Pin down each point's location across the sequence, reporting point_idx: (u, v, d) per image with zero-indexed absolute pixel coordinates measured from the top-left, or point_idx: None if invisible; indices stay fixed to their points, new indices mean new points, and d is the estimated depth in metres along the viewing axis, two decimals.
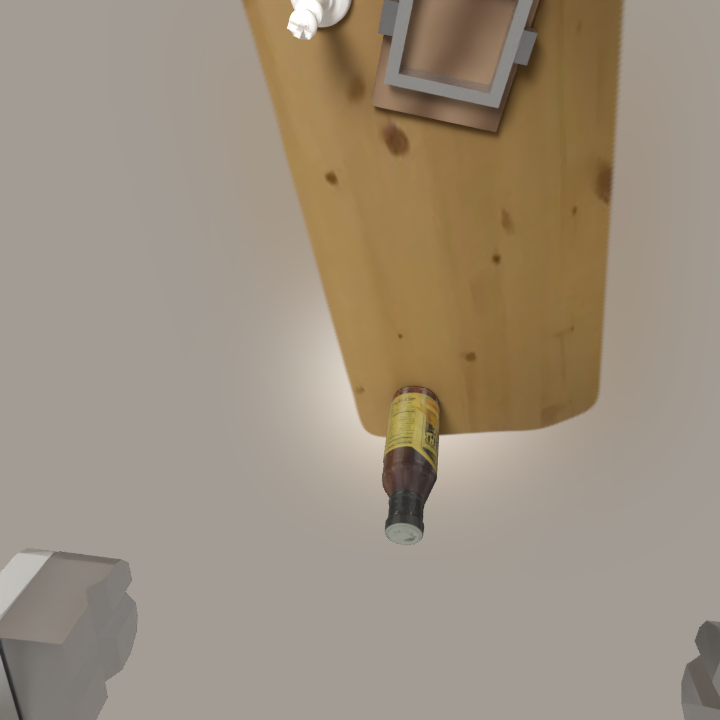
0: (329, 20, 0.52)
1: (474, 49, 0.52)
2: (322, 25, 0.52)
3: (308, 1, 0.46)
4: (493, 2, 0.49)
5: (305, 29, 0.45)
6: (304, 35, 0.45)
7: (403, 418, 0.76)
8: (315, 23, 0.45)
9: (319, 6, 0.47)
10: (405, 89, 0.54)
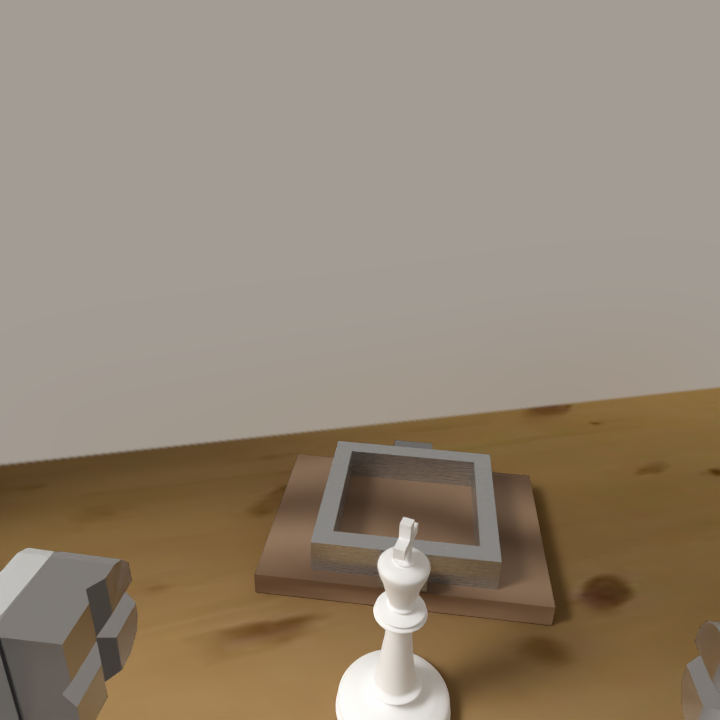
0: (432, 674, 0.28)
1: (431, 502, 0.39)
2: (444, 688, 0.28)
3: (377, 605, 0.26)
4: (373, 492, 0.40)
5: None
6: None
7: None
8: None
9: (384, 593, 0.26)
10: (509, 565, 0.34)
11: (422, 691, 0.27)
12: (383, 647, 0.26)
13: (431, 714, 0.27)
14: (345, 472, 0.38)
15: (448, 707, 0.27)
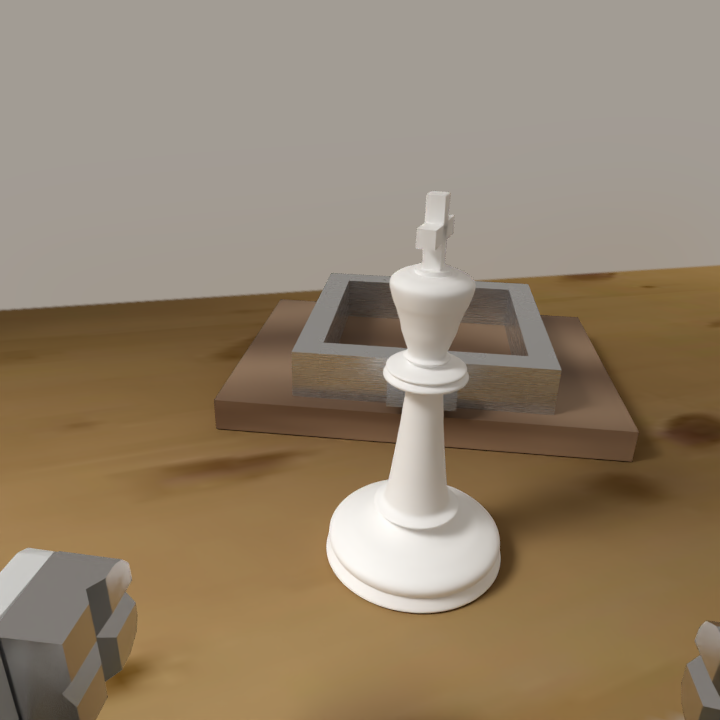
0: (470, 503, 0.19)
1: (454, 338, 0.29)
2: (489, 519, 0.19)
3: (390, 362, 0.16)
4: (377, 329, 0.30)
5: None
6: None
7: None
8: None
9: None
10: (567, 392, 0.25)
11: (458, 518, 0.18)
12: (399, 439, 0.17)
13: (473, 546, 0.17)
14: (340, 296, 0.29)
15: (498, 541, 0.18)
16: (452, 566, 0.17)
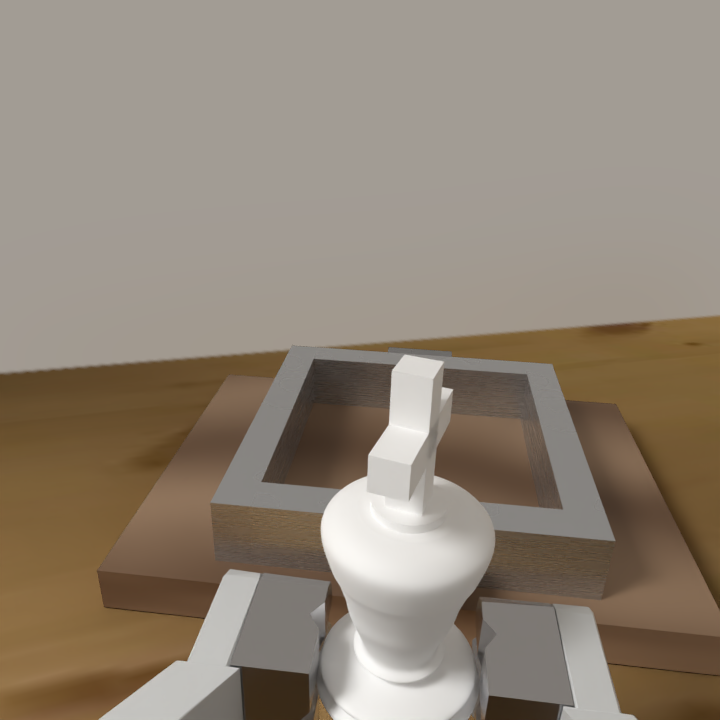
0: None
1: (453, 443, 0.22)
2: None
3: (328, 653, 0.08)
4: (350, 427, 0.23)
5: None
6: None
7: None
8: None
9: None
10: (616, 550, 0.17)
11: None
12: None
13: None
14: (298, 387, 0.21)
15: None
16: None
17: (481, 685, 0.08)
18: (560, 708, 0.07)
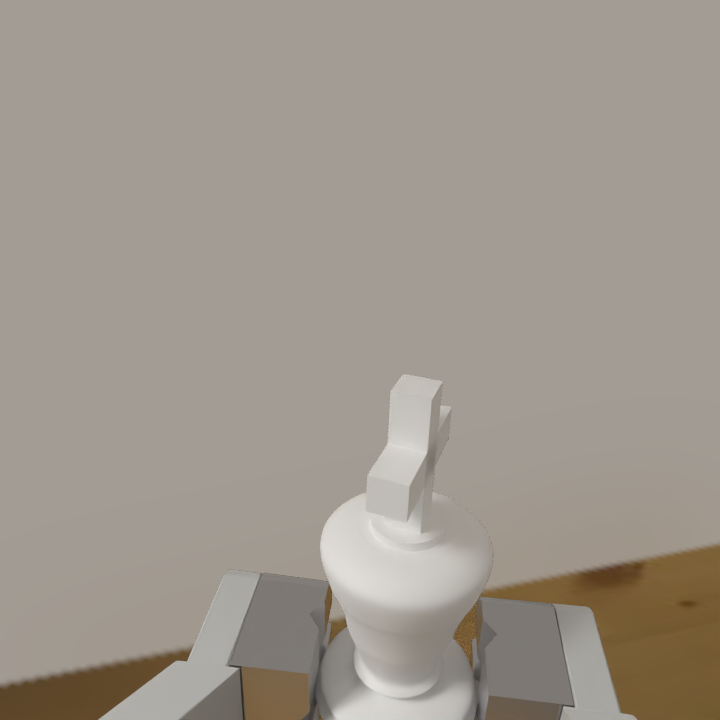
0: None
1: None
2: None
3: (327, 667, 0.09)
4: None
5: None
6: None
7: None
8: None
9: None
10: None
11: None
12: None
13: None
14: None
15: None
16: None
17: (481, 685, 0.08)
18: (560, 708, 0.07)
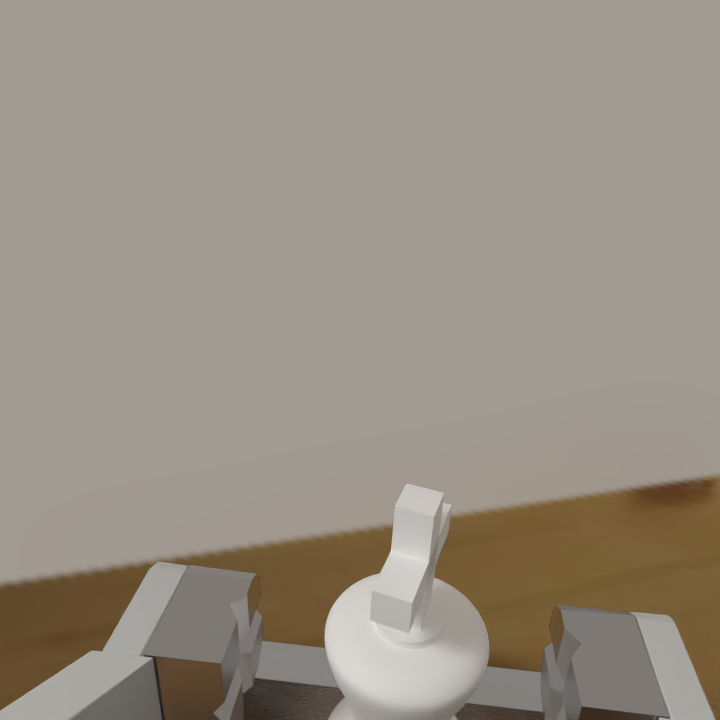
0: None
1: None
2: None
3: None
4: None
5: None
6: None
7: None
8: None
9: None
10: None
11: None
12: None
13: None
14: None
15: None
16: None
17: (567, 695, 0.08)
18: (654, 719, 0.07)
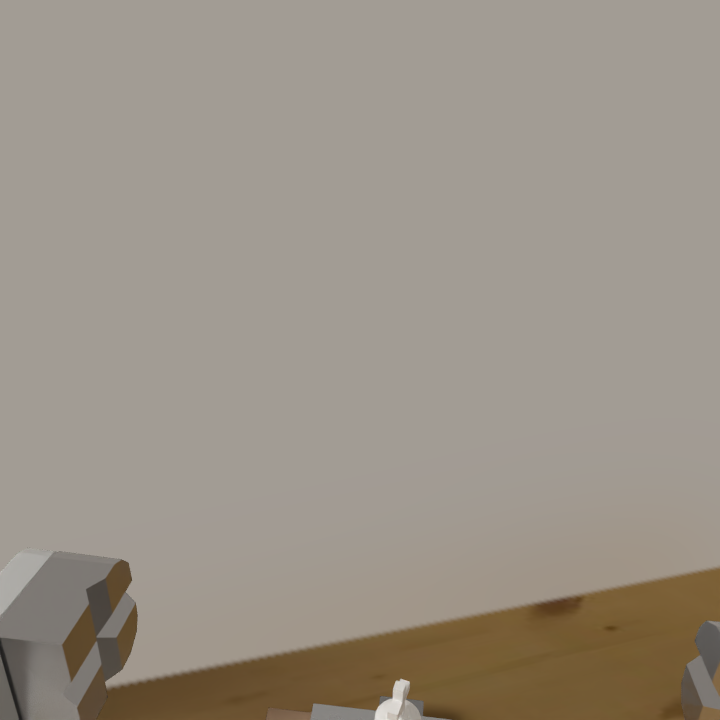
0: None
1: None
2: None
3: None
4: None
5: None
6: None
7: None
8: (393, 698, 0.29)
9: None
10: None
11: None
12: None
13: None
14: None
15: None
16: None
17: None
18: None
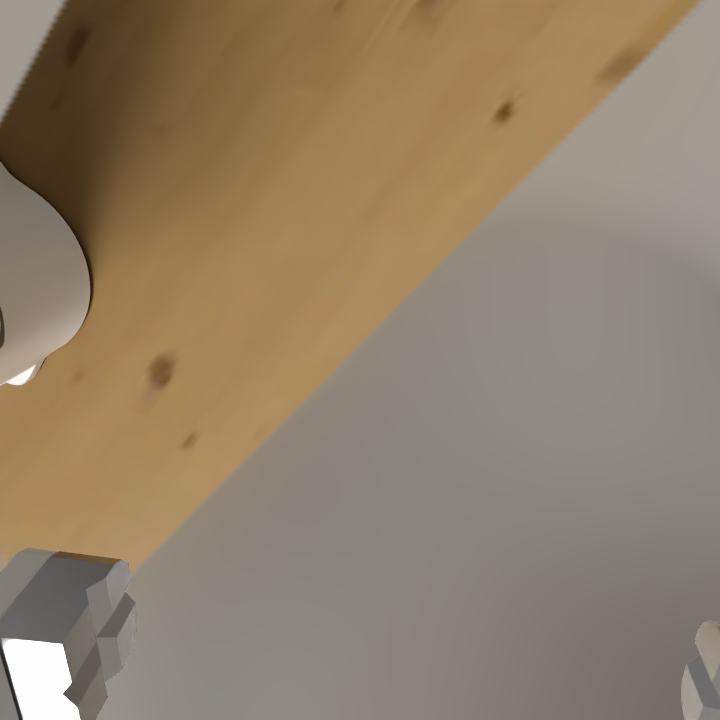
0: None
1: None
2: None
3: None
4: None
5: None
6: None
7: None
8: None
9: None
10: None
11: None
12: None
13: None
14: None
15: None
16: None
17: None
18: None
